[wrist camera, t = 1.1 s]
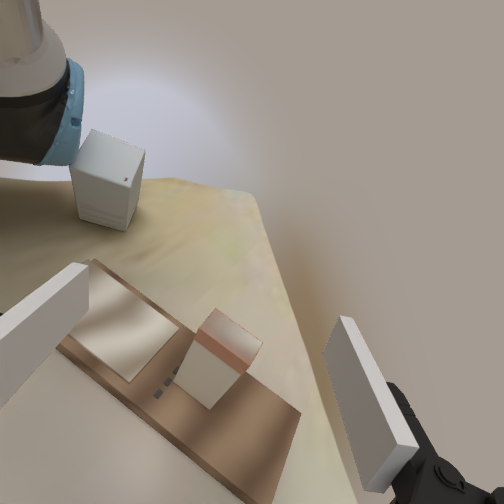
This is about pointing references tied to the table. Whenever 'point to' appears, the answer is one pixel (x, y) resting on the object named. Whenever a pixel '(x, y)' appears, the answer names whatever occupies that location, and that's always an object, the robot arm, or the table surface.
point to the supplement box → (107, 180)
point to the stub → (216, 358)
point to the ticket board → (179, 389)
